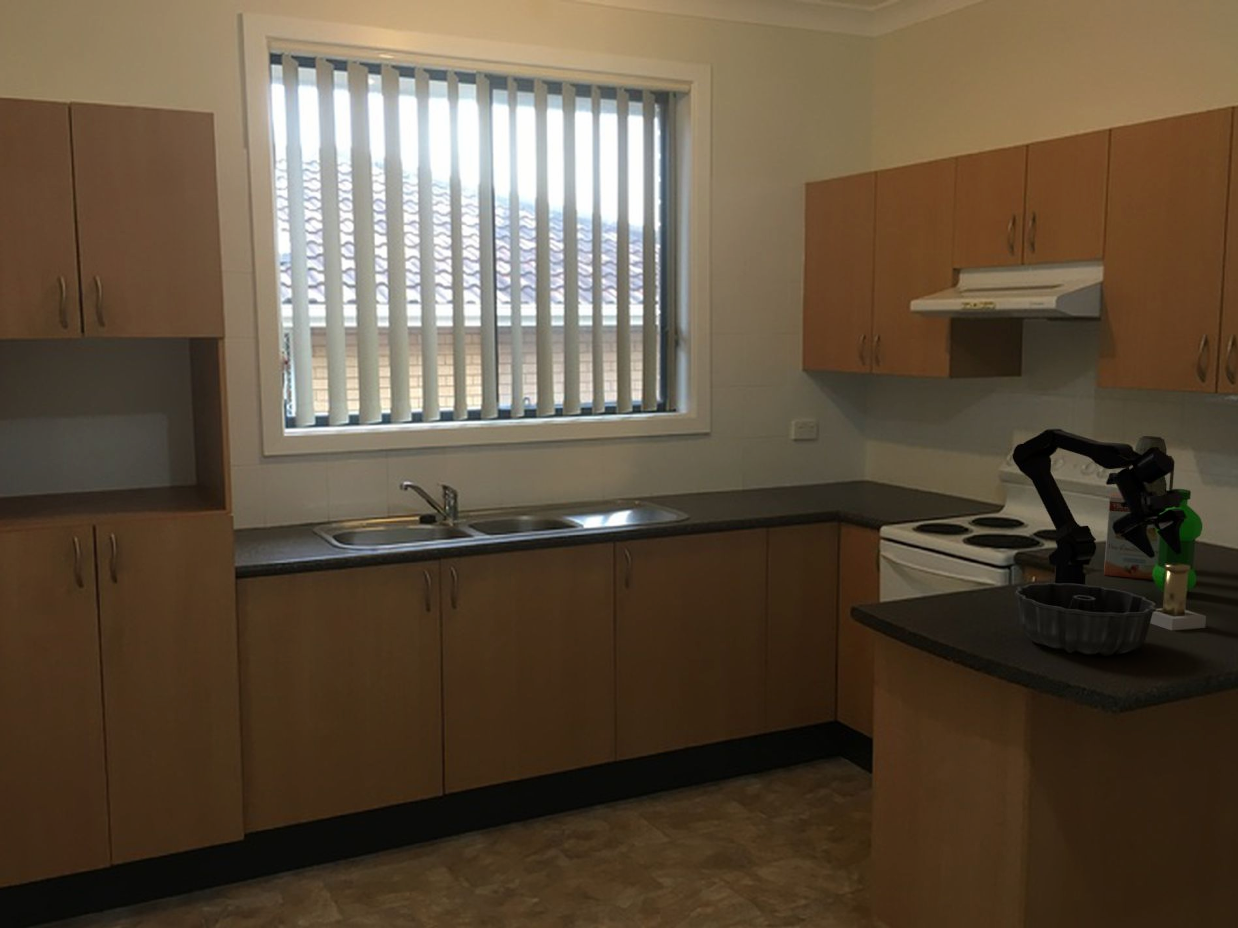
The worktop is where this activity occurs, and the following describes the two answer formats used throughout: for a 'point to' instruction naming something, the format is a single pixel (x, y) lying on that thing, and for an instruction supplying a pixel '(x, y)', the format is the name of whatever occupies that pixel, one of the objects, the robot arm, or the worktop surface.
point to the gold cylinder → (1175, 589)
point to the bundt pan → (1084, 617)
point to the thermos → (1152, 441)
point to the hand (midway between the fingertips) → (1166, 555)
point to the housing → (1178, 620)
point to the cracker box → (1127, 547)
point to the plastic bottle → (1187, 540)
